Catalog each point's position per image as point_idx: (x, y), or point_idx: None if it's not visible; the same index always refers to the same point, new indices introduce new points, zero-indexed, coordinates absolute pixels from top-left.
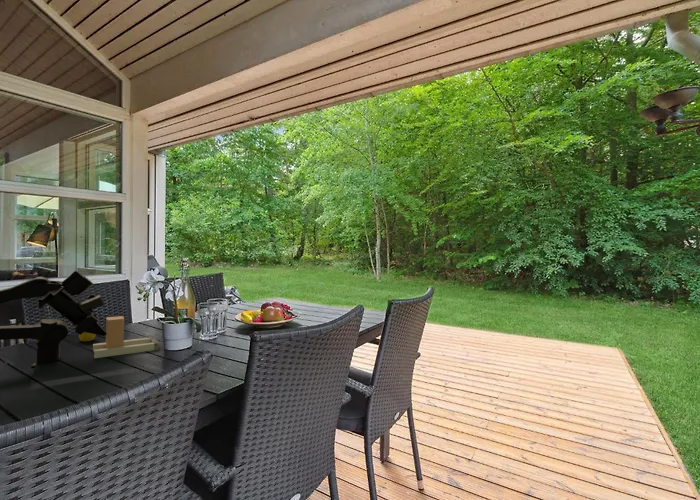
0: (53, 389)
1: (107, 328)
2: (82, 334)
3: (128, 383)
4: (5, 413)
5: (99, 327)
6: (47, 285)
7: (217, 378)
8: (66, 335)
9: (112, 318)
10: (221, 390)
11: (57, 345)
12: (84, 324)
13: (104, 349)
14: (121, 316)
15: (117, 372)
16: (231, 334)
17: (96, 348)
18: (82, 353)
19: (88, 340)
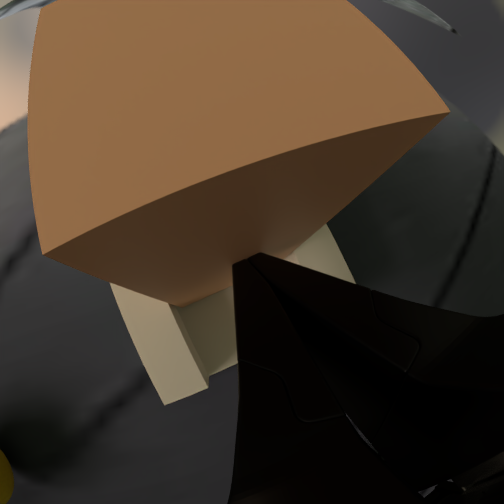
0: None
1: (365, 185)
2: (2, 495)
3: (480, 129)
4: None
5: (383, 304)
6: None
7: (406, 7)
8: (460, 497)
9: (254, 37)
10: (443, 21)
11: (448, 483)
12: None
13: (325, 256)
14: (67, 2)
15: (440, 162)
16: None
17: (200, 363)
18: (164, 445)
19: (4, 455)
